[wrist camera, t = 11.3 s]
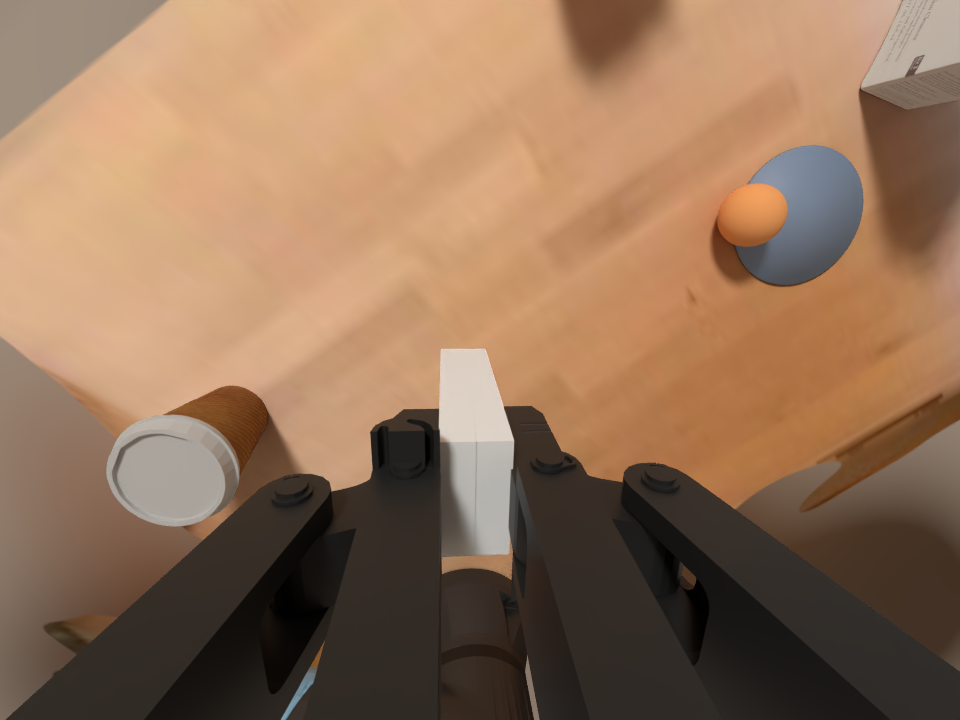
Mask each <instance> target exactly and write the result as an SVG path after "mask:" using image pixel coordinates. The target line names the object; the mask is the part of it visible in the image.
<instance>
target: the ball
mask: <svg viewBox="0 0 960 720" xmlns="http://www.w3.org/2000/svg"><path fill="white" fill-rule="evenodd" d="M787 214H788V206H787V202H786V199H785V197H784V196H783V194H782V193H781V192H780V191H779V190H778V189H776V188H775V187H773V186H770V185H767V184H760V183H755V184H749V185H745V186H742V187H740V188H738V189H736V190H735V191H734V192H732V193H731V194H730V195H729V196H728V197H727V198H726V199H725V200H724V201H723V203H722V205H721V206H720V209H719V211H718V216H717V224H718V228H719V231H720V233H721V234H722V236H723V237H724V238H725V239H726V240H727V241H729V242H730V243H732V244H734V245H737V246H742V247H751V246H757V245H760V244H763V243H765V242H767V241H769V240H770V239H772V238H773V237H774V236H776V235H777V234H778V233H779V231H780V230H781V229H782V227H783V226H784V224H785V221H786V219H787Z"/></svg>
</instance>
